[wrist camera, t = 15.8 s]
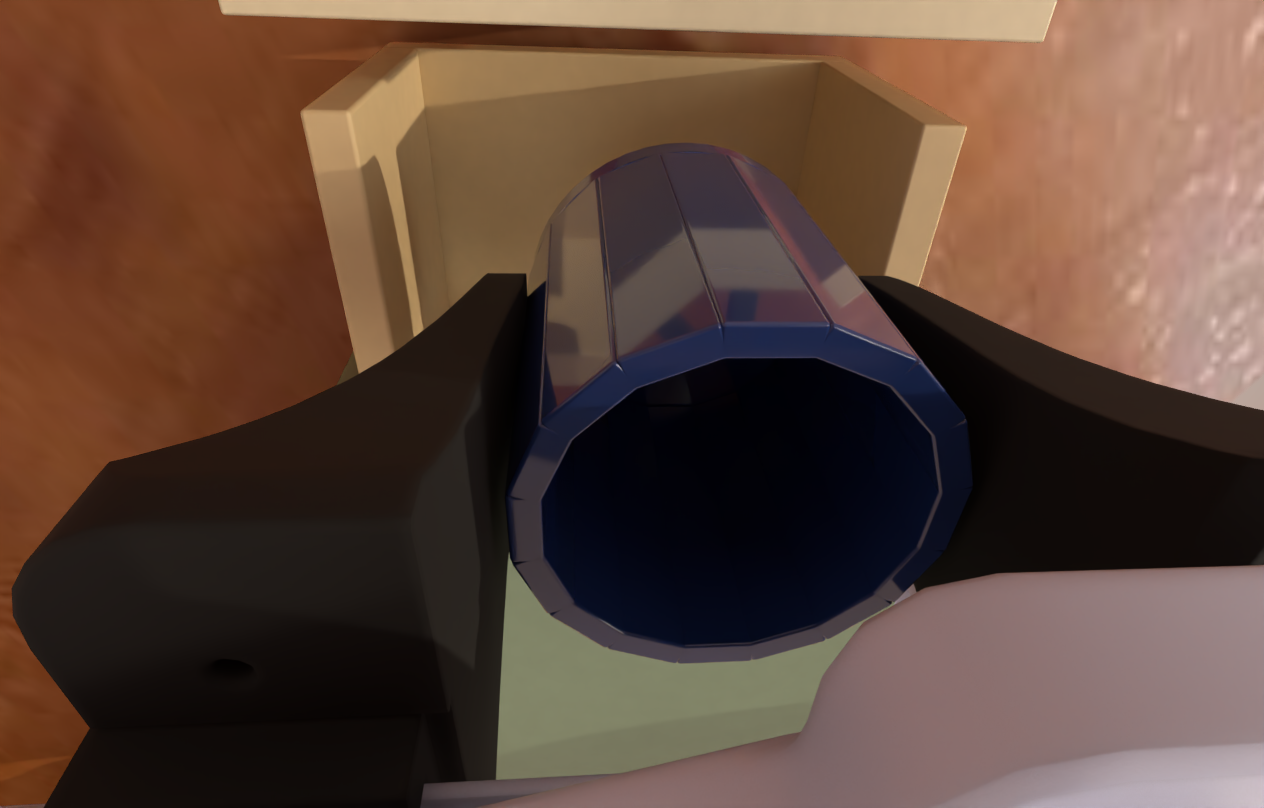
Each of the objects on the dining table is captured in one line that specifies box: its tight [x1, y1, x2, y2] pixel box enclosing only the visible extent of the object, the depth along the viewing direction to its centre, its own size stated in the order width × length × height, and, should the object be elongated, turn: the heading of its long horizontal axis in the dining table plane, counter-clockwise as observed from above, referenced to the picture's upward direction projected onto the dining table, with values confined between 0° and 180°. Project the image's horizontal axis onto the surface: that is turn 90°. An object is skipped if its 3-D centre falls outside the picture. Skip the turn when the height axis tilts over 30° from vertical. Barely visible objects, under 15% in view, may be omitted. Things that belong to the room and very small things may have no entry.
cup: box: [504, 143, 974, 664], centre depth 10 cm, size 5×5×6 cm
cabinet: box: [337, 351, 895, 780], centre depth 22 cm, size 15×14×9 cm
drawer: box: [218, 0, 1057, 373], centre depth 15 cm, size 18×12×7 cm
